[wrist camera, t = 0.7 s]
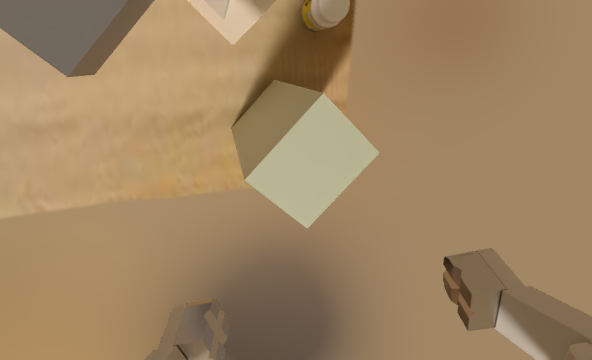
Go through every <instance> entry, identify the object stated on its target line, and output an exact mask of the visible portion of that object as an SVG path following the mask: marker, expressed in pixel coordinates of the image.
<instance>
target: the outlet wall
mask: <svg viewBox="0 0 592 360" xmlns="http://www.w3.org/2000/svg"><path fill="white" fill-rule="evenodd" d="M187 1H188V2H189V3H190V4H191V5H192V6H193V7H194V8H195V9H196V10H197V11H199V12H200V13H201V14H202V15H203V16H204V17H205V18H206V19H207V20H208V21H209V22H210V23H211V24H212V25H213V26H214V27H215V28H216V29H217V30H218V31H219V32H220V33H221V34H222V35H223V36H224V37H225V38H226V39H227V40H228V41H229V42H230V43H231V44H232V45H234V44H235V43H236V42H237V41H238V40H239V39H240V38H241V37H242V36H243V35H244V33H245V32H246V31H247V30H248V29H249V28H250V27H251V26H252V25H253V24H254V23H255V22H256V21H257V20H258V19H259V18H260V17H261V16H262V15H263V14H264V13H265V12H266V11H267V10H268V8H269V7H270V6H271V5H272V4H273V3H274V1H275V0H187Z"/></svg>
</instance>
